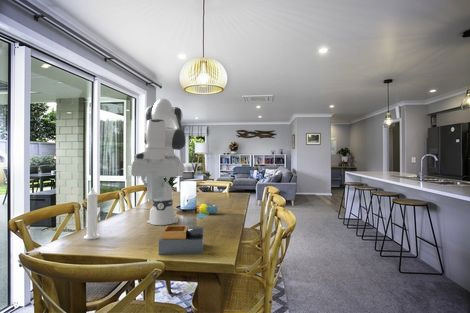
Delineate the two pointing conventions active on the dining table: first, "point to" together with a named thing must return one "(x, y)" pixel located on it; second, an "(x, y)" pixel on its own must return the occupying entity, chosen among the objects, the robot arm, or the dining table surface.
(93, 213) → the candle
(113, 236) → the dining table surface
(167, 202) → the robot arm
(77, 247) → the dining table surface
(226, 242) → the dining table surface
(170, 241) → the grey and orange organizer
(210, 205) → the blue and yellow piece
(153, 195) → the skincare box
